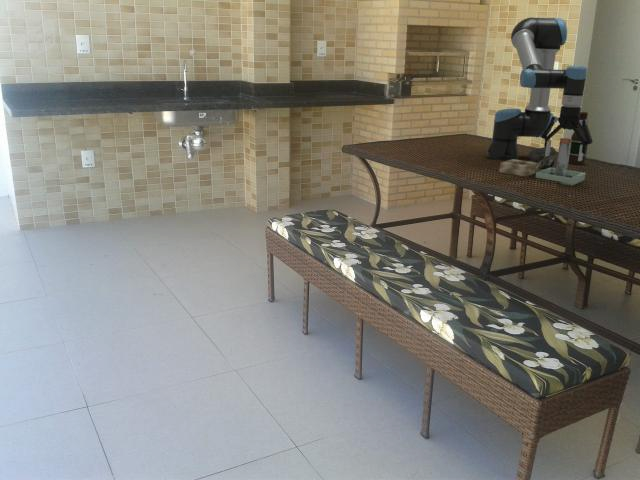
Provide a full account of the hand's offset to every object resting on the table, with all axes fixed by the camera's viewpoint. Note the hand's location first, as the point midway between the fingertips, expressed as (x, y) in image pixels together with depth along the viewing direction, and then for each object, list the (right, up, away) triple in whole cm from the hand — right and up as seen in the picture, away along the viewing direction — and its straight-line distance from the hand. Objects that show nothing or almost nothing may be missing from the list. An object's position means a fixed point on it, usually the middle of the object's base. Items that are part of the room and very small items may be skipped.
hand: (563, 158), depth 252 cm
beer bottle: (+21, +2, +37) cm, 43 cm away
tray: (0, -9, +3) cm, 9 cm away
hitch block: (-15, -5, +11) cm, 20 cm away
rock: (-1, -2, +24) cm, 24 cm away
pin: (0, -8, +3) cm, 8 cm away
